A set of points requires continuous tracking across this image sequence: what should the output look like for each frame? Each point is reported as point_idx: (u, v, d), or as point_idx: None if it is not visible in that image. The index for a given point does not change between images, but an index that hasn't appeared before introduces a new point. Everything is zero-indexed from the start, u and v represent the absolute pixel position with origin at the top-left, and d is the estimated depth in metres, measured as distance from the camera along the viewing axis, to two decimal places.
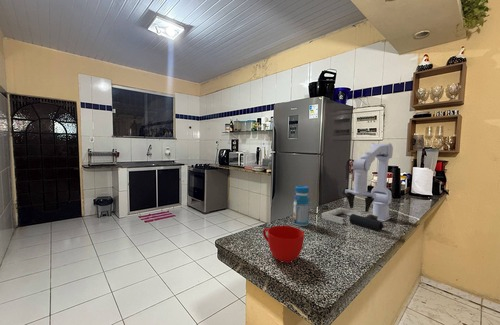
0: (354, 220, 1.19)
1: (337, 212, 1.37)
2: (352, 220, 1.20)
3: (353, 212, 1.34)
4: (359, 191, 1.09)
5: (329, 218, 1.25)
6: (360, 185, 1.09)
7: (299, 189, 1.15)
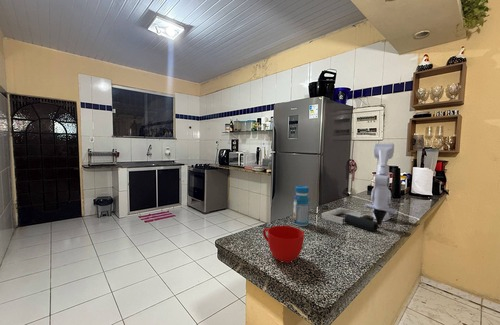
0: (349, 220, 1.18)
1: (337, 212, 1.37)
2: (347, 220, 1.19)
3: (353, 212, 1.34)
4: (380, 207, 1.12)
5: (329, 218, 1.25)
6: (381, 201, 1.11)
7: (299, 189, 1.15)
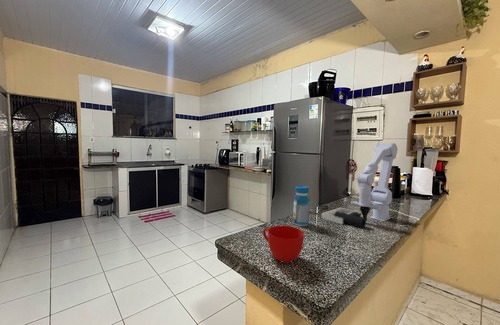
0: None
1: None
2: None
3: None
4: (364, 203, 1.18)
5: (329, 218, 1.25)
6: (365, 198, 1.18)
7: (299, 189, 1.15)
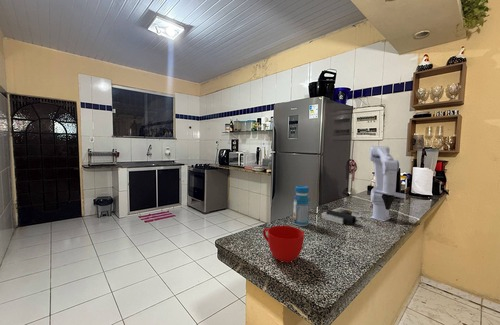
0: None
1: None
2: None
3: (353, 212, 1.34)
4: (389, 191, 1.13)
5: (329, 218, 1.25)
6: (390, 185, 1.13)
7: (299, 189, 1.15)
